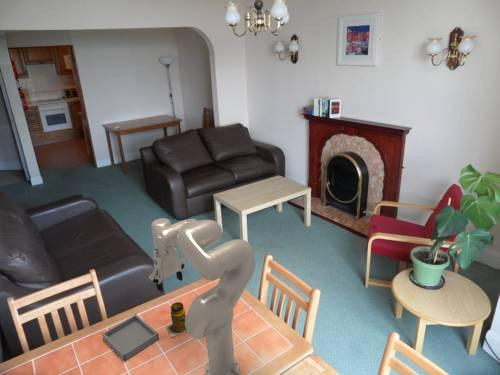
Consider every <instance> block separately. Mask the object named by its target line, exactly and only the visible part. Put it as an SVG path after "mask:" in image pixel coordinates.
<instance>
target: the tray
mask: <svg viewBox="0 0 500 375" xmlns="http://www.w3.org/2000/svg"><path fill="white" fill-rule="evenodd" d="M101 336H102V340H103V341H104V342H105V343H106V344H107V345H108V346H109V347H110V348H111V349H112V350H113V351H114V353H116V355H117V356H118V357H119V358H120V359H121V360H122V361H123V362H126V361H128V360H129V359H131V358H133V357H134V356H135V355H137V354H139V353H141V352H142V351H143V350H144V349H146V348H147V347H150V346H151V345H153V343H155V342H157V341H158V340H160V337H159V333H158V332H157V331H156V330H155V329H154V328H153V327H152V326H150V325H149V324H148V323H146V321H145V320H144V319H142V317H140V316H139V315H137V314H134V315H132V316H130V317H129V318H127V319H125V320H123V321H122V322H120V323H118V324H116V325H114V326H113V327H111V328H110V329H108V330H106V331H104V332H102V334H101Z"/></svg>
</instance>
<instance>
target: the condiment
mask: <svg viewBox="0 0 500 375" xmlns="http://www.w3.org/2000/svg"><path fill="white" fill-rule="evenodd" d="M170 317H171V323H172V324H170V325H168V326H166V327H165V328H166V329H165V330H167V332H168V333H169V335H170V336H171V338H174V337H177V336H178V335H182V334H183V333H185V332H187V331H186V328H185V317H186V310H185V308H184V304H183V302H180V301H179V302H178V301H177V302H174V303H172V304H171V306H170Z"/></svg>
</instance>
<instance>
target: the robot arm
mask: <svg viewBox="0 0 500 375" xmlns="http://www.w3.org/2000/svg"><path fill="white" fill-rule="evenodd" d="M150 225H151V226H150V227H151V233H152V239H153V245H154V250H152V254H153V255H154V258H153V263H154V264H153V266H154V270H153V271H152V272H151V273H150V274H149V276H148V279H149V280H150V281H151V282H153V283H154V284H155V287H156V290H157V291H159V292H161V293H163V292H164V287H163V283H162V280H165V279H168V278H169V277H171V276H173V275H174V274H175V276H176V279H177V280H178V281H180V282H182V281H183V271H184V268H185V266H186V265H185V264H186V259H187V261H188V262H189V263H190V264H191V265H192V267H194V269H195V270H196V271H197V272H198V273H199V274H200V276H201V277H203V278H204V279H205V280H207V281H215V280H218V279H219V280H218V282H217V283H216V285H215V286H213V287H211V288H210V289H208V290H206V291H205V292H203V293H201V294H199V295H198V296H196V297H195V298H193V300H192V301H191V302H190V305H189V307H188V309H187V312H186V313H185V315H186V317H185V328H186V332H187V334H188V336H189V337H191V339H194V340H202V339H204V338H205V340H206V349H207V357H208V358H207V360H208V362H206V366H205V374H206V375H242V374H241V372H240V366H239V362H238V360H237V359H236V358H235V351H234V350H235V349H234V338H233V336H234V335H233V320H234V313H235V312H234V311H235V310H234V309H235V307H236V305H237V304H238V303H239V300H240V298H241V297H242V296H243V293H244V291H246V288H247V287H248V286H249V283H250V281H251V280H252V278H253V276H254V272H255V270H256V269H255V268H256V256H255V252H254V249H253V247H252V245H251V243H249V242H248V241H247V240H245V239H243V238H242V239H239V238H238V239H231V240H230V241H226V242H225V243H223V244H220V245H218V246H216V247H213V248H212V249H209V250H208V251H206V249H207V248H210V247H212V246H214V245H215V244H217V243H218V242H219V241H220V240H221V238H222V235H223V228H222V226H221V225H220V223H219V222H218V221H216V220H213V219H203V220H197V219H195V218H188V219H183V220H181V221H177V222H175V223H173V224H172V223H171V221H170V219H168V218H164V217H163V218H156V219H155V220H154V221H152V222H151V224H150ZM176 245H177V246H178V248H179V250H180V252H181V253H182V255H183V256H184V258H180V255H179V252H178V249H177V248H176V247H175V246H176Z"/></svg>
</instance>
